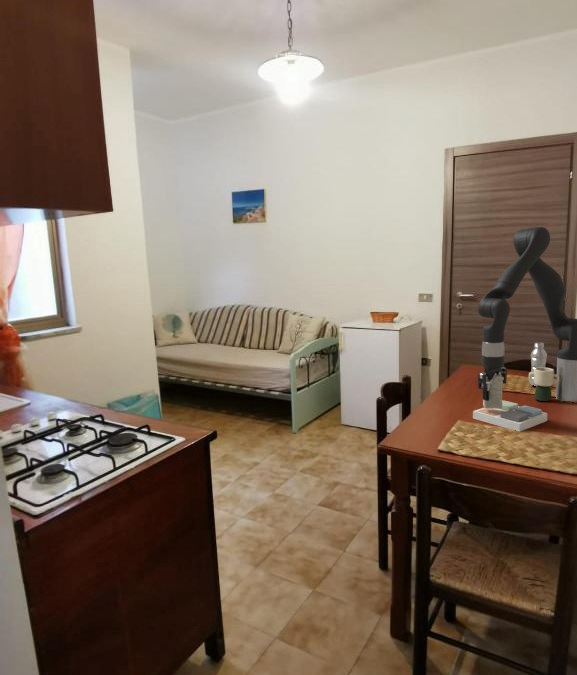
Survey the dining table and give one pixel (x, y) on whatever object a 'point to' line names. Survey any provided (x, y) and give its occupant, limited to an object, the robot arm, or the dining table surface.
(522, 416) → the key charcoal
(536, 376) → the character mug
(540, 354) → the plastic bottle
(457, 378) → the dining table surface
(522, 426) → the white flat square tray
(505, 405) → the key sage
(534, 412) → the key slate
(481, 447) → the dining table surface
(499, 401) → the skincare box
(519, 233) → the robot arm
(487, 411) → the key terracotta
